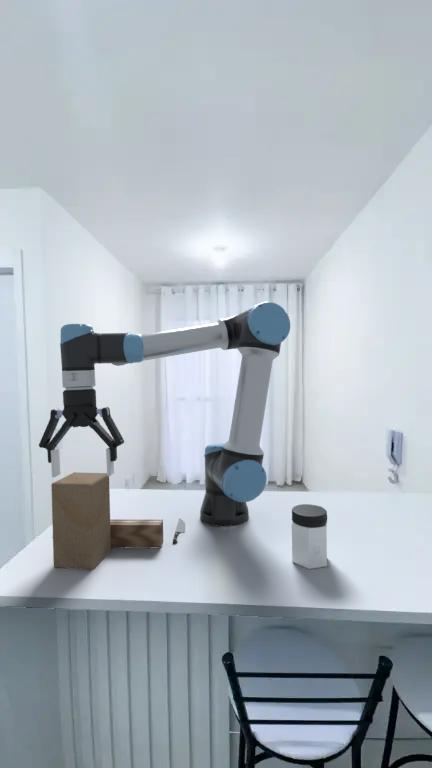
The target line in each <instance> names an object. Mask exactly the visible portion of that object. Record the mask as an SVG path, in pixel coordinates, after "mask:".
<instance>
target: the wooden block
mask: <svg viewBox="0 0 432 768" xmlns="http://www.w3.org/2000/svg"><path fill="white" fill-rule="evenodd" d="M50 486H51V515H52V516H51V517H52V519H51V520H52V551H53V553H52V554H53V567H54V568H57V569H59V568H60V569H74V570H75V569H76V570H88V571H90V570H92V571H93V570H94V569H95V568H96V567H97V566H98V565H99V564H100V562H101V561H102V560H103V559H104V558H105V557H106V556H107V555H108V553H110V552H111V550H112V548H111V532H110V519H111V502H110V500H111V499H110V476H107V472H106V473H105V472H72V473H70V474H67V475H66V476H63V477H62V478H60V479H58V480H56V481H54V482H52V483H51V485H50Z"/></svg>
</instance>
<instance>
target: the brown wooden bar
mask: <svg viewBox="0 0 432 768" xmlns="http://www.w3.org/2000/svg"><path fill="white" fill-rule="evenodd" d="M110 532H111V547H123V549H124V548H125V547H130V548H131V547H133V548H131V549H138V548H139V549H145V548H146V549H151V548H150V547H161V548H162V546H163V543H164V519H120V518H119V519H118V518H117V519H116V518H115V519H111V518H110ZM134 547H136V548H134ZM137 547H138V548H137Z"/></svg>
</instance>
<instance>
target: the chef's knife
mask: <svg viewBox="0 0 432 768" xmlns="http://www.w3.org/2000/svg"><path fill="white" fill-rule="evenodd" d="M185 533H186V523H185V521H184V520H183V519H182V518H178V521H177V524H176V528H175V532H174V535H173V539H172V545H176V544H177V543H178V541H177V540H178V537H179V534H185Z"/></svg>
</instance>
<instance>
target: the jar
mask: <svg viewBox="0 0 432 768" xmlns="http://www.w3.org/2000/svg"><path fill="white" fill-rule="evenodd" d="M327 524H328V511H327V509H325V508H324V507H322V506H320V505H316V504H309V503H308V504H305V503H304V504H303V503H302V504H298V505H295V506H293V507H292V509H291V561H292V563H294V564H296V565H299V566H301V567H302V568H305V569H308V570H311V569H318V568H325V567H327V566H328V544H327V543H328V537H327V535H328V534H327V533H328V532H327V531H328V530H327V529H328V528H327Z"/></svg>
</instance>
